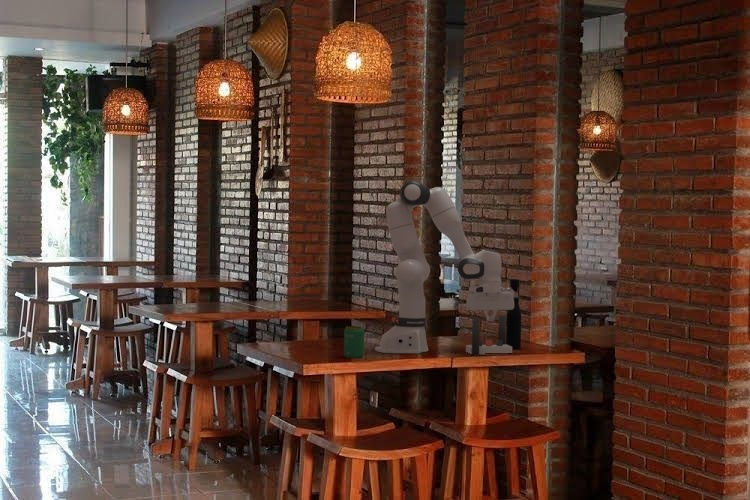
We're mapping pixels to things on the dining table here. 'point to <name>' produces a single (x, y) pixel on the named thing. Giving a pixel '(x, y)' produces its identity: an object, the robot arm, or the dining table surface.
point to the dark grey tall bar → (475, 336)
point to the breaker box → (491, 349)
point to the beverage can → (354, 342)
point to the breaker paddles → (489, 342)
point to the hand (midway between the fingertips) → (490, 320)
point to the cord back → (502, 328)
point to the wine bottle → (514, 320)
